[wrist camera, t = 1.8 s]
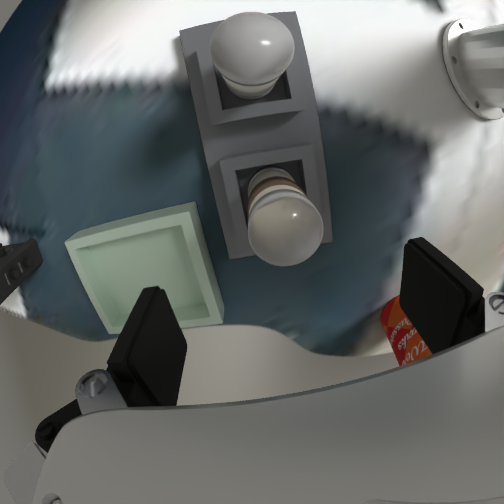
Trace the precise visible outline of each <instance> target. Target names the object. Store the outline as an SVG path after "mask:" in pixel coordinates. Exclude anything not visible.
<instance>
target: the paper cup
mask: <svg viewBox="0 0 504 504" xmlns="http://www.w3.org/2000/svg"><path fill="white" fill-rule="evenodd" d="M399 298H400V295H399V296H397V297H395V298H393V299H392V300H391V301H390V302H388V303H387V305H386V306H385V307H384V309H383V311H382V314H381V322H382V325H383V328H384V330H385V332H386V335H387V337H388V339H389V342H390V344H391V346H392V349H393V351H394V353H395V355H396V358H397V361H398V363H399V365H400V366H402V365H405V364H408V363H411V362H414V361H417V360H419V359H422V358H425V357H427V356H430V355H433V354H432V353H431V351H430V350H429V348H428V347H427V345H426V344H425V342H424V341H423V339H422V338H421V336H420V335H419V333H418V332H417V330H416V329H415V328H414V326H413V325H412V323H411V322H410V320H409V319H408V318H407V316H406V315H405V313H404V312H403V311H402V309H401V307H400V304H399Z"/></svg>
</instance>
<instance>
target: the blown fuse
mask: <svg viewBox="0 0 504 504" xmlns="http://www.w3.org/2000/svg"><path fill="white" fill-rule="evenodd" d="M248 198H249V199H248V238H249V242H250V245H251V247H252V249H253V250H254V252H255V253H256V254H257V255H258V256H259V257H260V258H261V259H262V260H264V261H266V262H268V263H270V264H273V265H277V266H291V265H296V264H298V263H301V262H303V261H305V260H306V259H308V258H309V257H310V256H312V255H313V253H314V252H315V251H316V250H317V249H318V247H319V245H320V243H321V241H322V237H323V221H322V218H321V216H320V213H319V212H318V210H317V209H316V208H315V206H314V205H313V204H312V202H311V201H310V200H309V199H308V197H307V196H306V194H305V193H304V192H303V190H302V189H301V188H300V187H299V186H298V184H297V183H296V182H295V181H294V179H293V178H292V176H291V175H290V174H289V173H288V172H287V171H286V170H284V169H282V168H280V167H276V166H267V167H264V168H261V169H259V170H258V171H257V172H255V173H254V174H253V176H252V177H251V179H250V181H249V184H248Z"/></svg>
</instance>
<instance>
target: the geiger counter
mask: <svg viewBox="0 0 504 504" xmlns="http://www.w3.org/2000/svg"><path fill="white" fill-rule="evenodd" d="M42 262H43V260H42V257H41V254H40V251H39V248H38V245H37V242H36V240H35V239H34V238H31V239H29V240H28V241H26V242H25V243H19V244H13V245H6V246H2V243H0V305H1V303H2V302H3V301H4V300H5V299H6V298H7V297H8V296H9V295H10V294H11V293H12V292H13V291H14V290H15V289H16V288H17V287H18V286H19V285H20V284H21V283H22V282H23V281H24V280H25V279H26V278H27V277H28V276H29V275H30V274H31V273H33V272H34V271H35V270H36V269H37V268H38V267H39V266H40V265H41V264H42Z"/></svg>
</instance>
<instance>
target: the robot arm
mask: <svg viewBox="0 0 504 504" xmlns="http://www.w3.org/2000/svg"><path fill="white" fill-rule="evenodd" d="M442 44H443V55H444V61H445V65H446V68H447V71H448V74H449V76H450V79H451V81H452V84H453V85H454V87H455V89H456V91H457V93H458V94H459V96H460V97H461V99H462V100H463V102H464V103H465V104H466V105H467V106H468V108H469V109H470V110H472V111H473V112H474V113H475V114H477V115H478V116H480V117H482V118H486V119H492V120H496V119H500V118H502V117H504V24H501V25H495V26H489V27H482V26H481V25H480V24H478V23H476V22H474V21H472V20H468V19H459V20H456V21H453V22H452V23H450V24H449V25H448V26H447V28H446V29H445V32H444V35H443V43H442ZM483 291H484V289H483V288H482V287H481V286H480V285H479V284H478V283H477V282H476V281H475V280H474V279H472V278H471V277H470V276H469V275H468V274H467V273H466V272H465V271H463V270H462V269H461V268H460V267H459V266H458V265H456V264H455V263H454V262H453V261H452V260H450V259H449V258H448V257H447V256H446V255H444V254H443V253H442V252H441V251H439V250H438V249H437V248H436V247H434V246H433V245H432V244H431V243H429V242H428V241H427V240H425V239H424V238H423V237H419V238H414V239H409V240H408V242H407V244H405V246H404V258H403V270H402V280H401V289H400V298H399V304H400V307H401V309H402V311H403V312H404V313H405V315H406V316H407V318H408V319H409V320H410V322H411V323H412V325H413V326H414V328H415V329H416V330H417V332H418V333H419V335H420V336H421V338H422V339H423V341H424V342H425V344H426V345H427V347H428V348H429V350H430V351H431V353H432V354H433V355H430V356H427V357H425V358H422V359H419V360H417V361H414V362H411V363H408V364H405V365H402V366H399V367H396V368H393V369H390V370H387V371H384V372H380V373H377V374H374V375H370V376H367V377H363V378H359V379H356V380H352V381H348V382H344V383H340V384H336V385H332V386H327V387H323V388H318V389H313V390H308V391H303V392H298V393H293V394H287V395H281V396H274V397H269V398H261V399H254V400H246V401H237V402H227V403H215V404H201V405H185V406H176V405H177V399H178V394H179V388H180V383H181V378H182V372H183V367H184V362H185V357H186V352H187V342H186V339H185V337H184V335H183V333H182V330H181V328H180V326H179V323H178V321H177V319H176V316H175V314H174V312H173V309H172V307H171V304H170V302H169V299H168V297H167V294H166V292H165V290H164V289H160V287H159V286H153V287H147V288H143V290H142V292H141V294H140V295H139V297H138V299H137V301H136V303H135V305H134V307H133V309H132V311H131V313H130V315H129V317H128V319H127V321H126V323H125V325H124V327H123V329H122V331H121V333H120V335H119V337H118V339H117V342H116V344H115V346H114V348H113V350H112V353H111V354H110V357H109V359H108V361H107V364H108V368H107V370H103V369H96V370H92V371H90V372H88V373H86V374H85V375H84V376H83V377H82V378H81V379H80V380H79V381H78V383H77V385H76V389H75V394H76V398H77V399H75V400H74V401H72V402H71V403H69V404H67V405H66V406H64V407H63V408H61V409H60V410H58V411H57V412H55V413H53V414H52V415H50V416H49V417H47V418H45V419H44V420H43V421H42V422H41V423H40V424H39V425H38V427H37V429H36V433H35V439H36V442H35V443H34V442H33V441H31V442H30V443H29V444H28V445H27V446H26V447H25V448H24V449H23V450H22V451H21V452H20V453H19V454H18V455H17V456H16V458H15V459H14V460H13V461H12V462H11V463H10V464H9V465H8V466H7V468H6V469H5V472H4V482H5V485H6V487H7V489H8V491H9V492H10V494H11V495H12V497H13V499H14V501H15V502H16V504H504V293H502V292H492V293H490V294H488V295H487V296H486V297H485V298H484V297H483V296H482V295H483Z"/></svg>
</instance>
